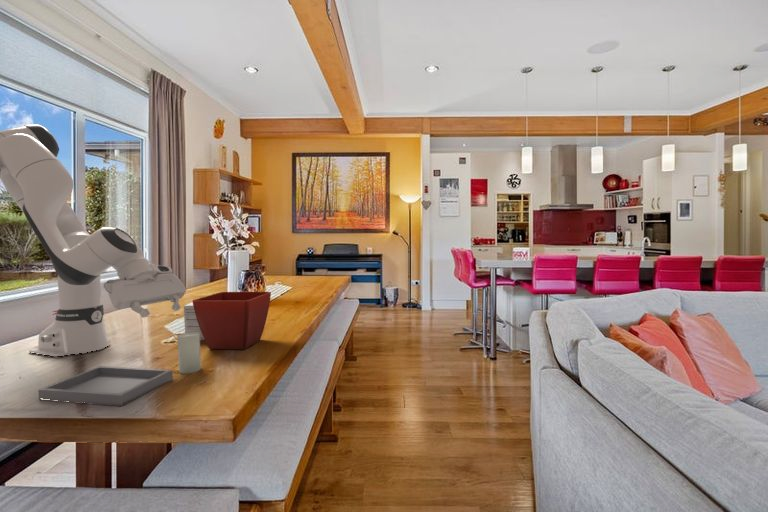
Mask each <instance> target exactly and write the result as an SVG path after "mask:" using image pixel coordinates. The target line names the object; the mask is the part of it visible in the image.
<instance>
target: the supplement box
mask: <svg viewBox="0 0 768 512" xmlns="http://www.w3.org/2000/svg"><path fill="white" fill-rule="evenodd" d="M183 319H184V320H183V322H184V333H189V332H197V333H200V341H205V339H204V337H203V335H202V332H201V330H200V327H199V324H198V321H197V318H196V314H195V311H194V306H193V301H191V302H190V303H188V304H185V305H183Z"/></svg>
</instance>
